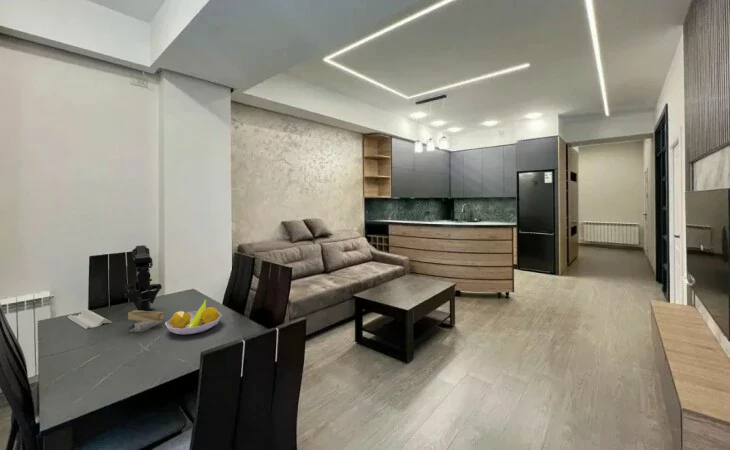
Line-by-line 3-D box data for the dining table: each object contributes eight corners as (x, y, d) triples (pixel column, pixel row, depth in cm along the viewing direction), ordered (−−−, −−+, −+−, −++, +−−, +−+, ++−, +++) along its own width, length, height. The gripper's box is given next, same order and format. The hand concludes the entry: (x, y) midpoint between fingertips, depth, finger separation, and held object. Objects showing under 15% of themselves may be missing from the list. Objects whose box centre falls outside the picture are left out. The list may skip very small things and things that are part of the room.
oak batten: (134, 317, 172) (134, 310, 171) (163, 319, 169) (162, 311, 169) (128, 320, 168) (127, 312, 167) (157, 321, 165) (156, 314, 165)
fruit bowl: (199, 342, 150) (198, 319, 149) (152, 337, 155) (151, 315, 154) (234, 320, 177) (233, 301, 176) (193, 317, 183) (192, 298, 182)
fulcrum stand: (149, 321, 176) (149, 314, 176) (162, 321, 175) (162, 315, 175) (129, 331, 162) (128, 324, 162) (143, 332, 161) (142, 324, 161)
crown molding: (67, 319, 182) (67, 313, 182) (93, 312, 192) (93, 307, 192) (86, 330, 165) (85, 324, 165) (113, 323, 175) (112, 316, 175)
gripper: (143, 273, 176) (145, 300, 178) (114, 282, 158) (116, 311, 159) (161, 274, 175) (163, 300, 177) (134, 282, 157) (136, 312, 158)
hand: (145, 306), depth 168 cm, fingers open, 9 cm apart
